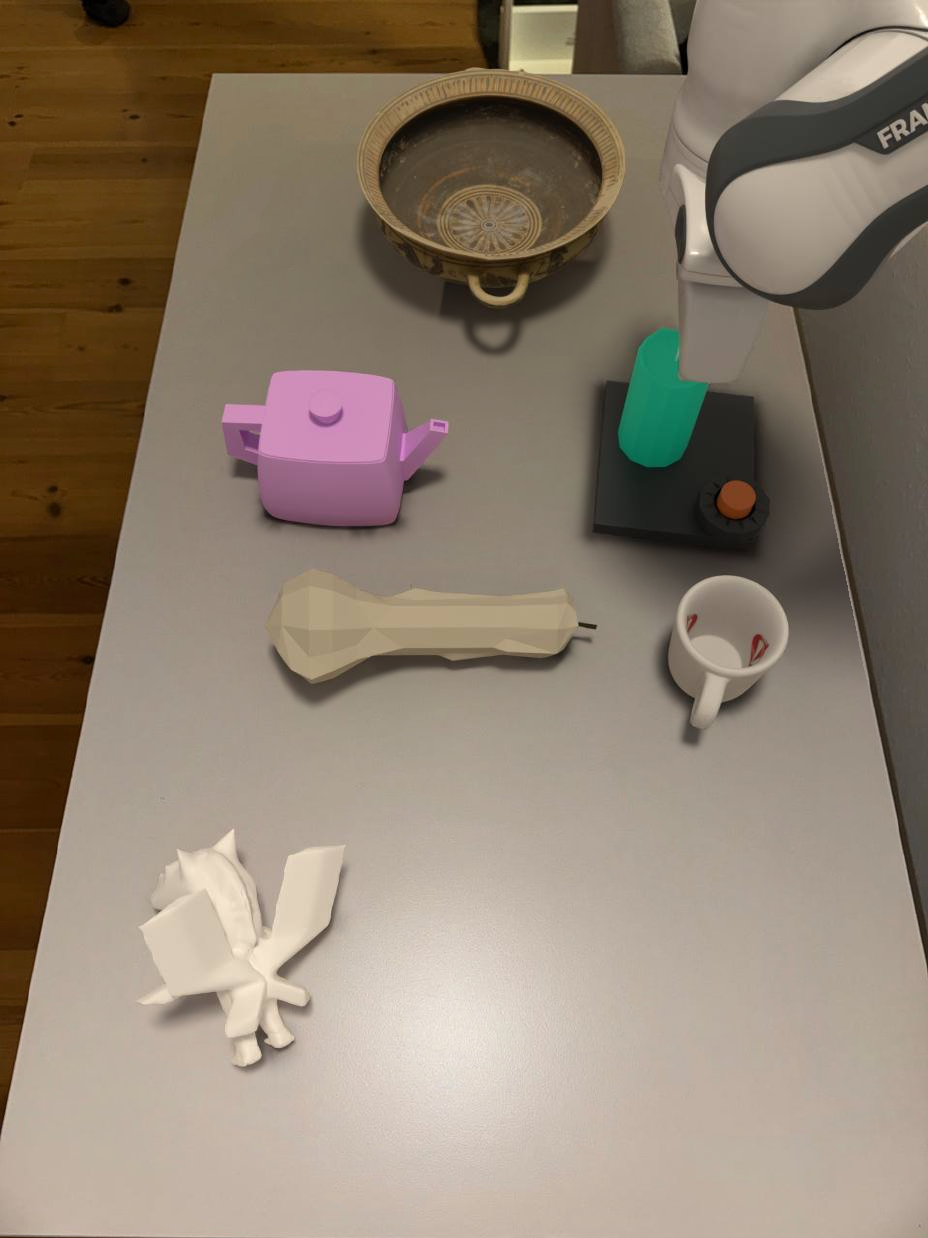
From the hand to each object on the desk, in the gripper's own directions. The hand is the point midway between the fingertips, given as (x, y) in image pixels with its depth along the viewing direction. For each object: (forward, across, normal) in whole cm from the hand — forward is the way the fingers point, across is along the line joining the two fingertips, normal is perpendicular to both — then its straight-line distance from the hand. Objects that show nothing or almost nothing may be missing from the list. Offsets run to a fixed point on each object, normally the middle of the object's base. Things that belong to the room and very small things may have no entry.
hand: (688, 323), depth 75 cm
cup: (+16, +22, +4) cm, 27 cm away
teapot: (+15, +6, -26) cm, 31 cm away
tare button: (+13, +7, +6) cm, 16 cm away
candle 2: (+15, +21, -17) cm, 31 cm away
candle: (+14, 0, 0) cm, 14 cm away
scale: (+15, +2, +2) cm, 16 cm away
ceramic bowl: (+15, -23, -16) cm, 32 cm away
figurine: (+15, +44, -28) cm, 55 cm away
